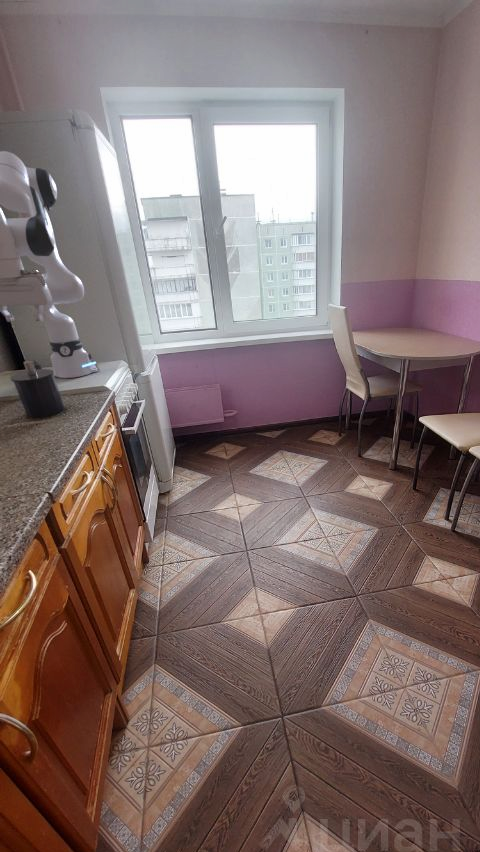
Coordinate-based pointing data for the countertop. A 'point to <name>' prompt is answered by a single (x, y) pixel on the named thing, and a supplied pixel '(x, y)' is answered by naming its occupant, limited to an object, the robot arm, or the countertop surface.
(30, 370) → the lid
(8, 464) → the countertop surface
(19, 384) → the canister
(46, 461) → the countertop surface
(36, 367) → the salt shaker
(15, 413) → the countertop surface
